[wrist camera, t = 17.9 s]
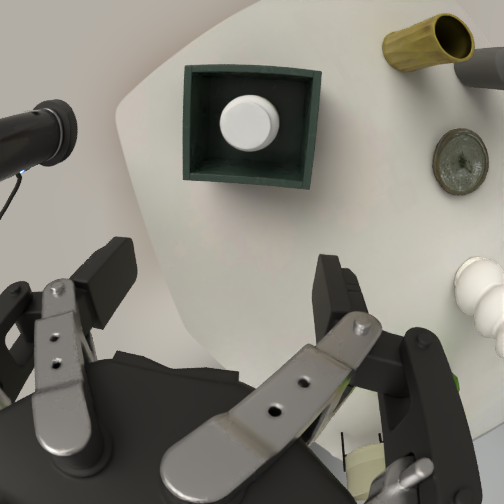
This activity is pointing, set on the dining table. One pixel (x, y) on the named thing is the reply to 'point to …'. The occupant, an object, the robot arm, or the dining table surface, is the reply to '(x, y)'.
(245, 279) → the dining table surface
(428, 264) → the dining table surface
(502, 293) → the vase
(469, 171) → the lid
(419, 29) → the vase
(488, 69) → the bottle
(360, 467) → the planter
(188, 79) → the open box
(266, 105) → the pill bottle
